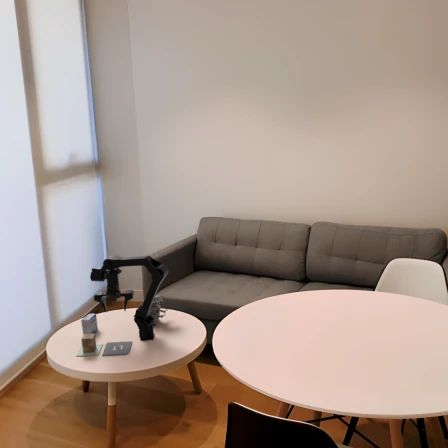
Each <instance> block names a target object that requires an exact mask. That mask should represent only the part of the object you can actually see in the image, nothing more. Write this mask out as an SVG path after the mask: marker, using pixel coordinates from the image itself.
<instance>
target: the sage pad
mask: <svg viewBox="0 0 448 448" xmlns="http://www.w3.org/2000/svg"><path fill="white" fill-rule="evenodd" d="M102 347H103V343H102V344H96V349H95V351H94V352H88V353H83V347H82V345H81V346H80V348H79V350H78V352H77V354H76V357H90V356H91V357H92V356H99V355H100V352H101V350H102Z"/></svg>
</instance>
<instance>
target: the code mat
mask: <svg viewBox="0 0 448 448" xmlns="http://www.w3.org/2000/svg"><path fill="white" fill-rule="evenodd" d="M132 344H133V341H132V340H129V341H114V342H113V341H112V342H106V345H105V347H104V349H103V352H102V354H101V356H102V357H107V356H110V357H111V356H122V355H123V356H127V355H128V356H129V354H130V351H131V347H132Z"/></svg>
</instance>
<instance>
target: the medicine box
mask: <svg viewBox="0 0 448 448" xmlns="http://www.w3.org/2000/svg"><path fill="white" fill-rule="evenodd" d="M98 327H99V326H98V319H97V314H96V313H87V314H86V316H84V317H83V318H82V319H81V328H82V335H84V334H95V332H96V331H97V330H98V329H99V328H98Z"/></svg>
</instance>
